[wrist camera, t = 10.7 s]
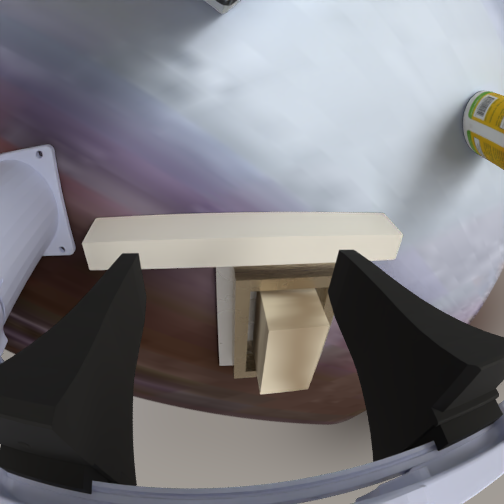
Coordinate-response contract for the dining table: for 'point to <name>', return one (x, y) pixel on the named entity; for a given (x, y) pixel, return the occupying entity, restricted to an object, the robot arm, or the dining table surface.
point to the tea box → (222, 5)
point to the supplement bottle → (485, 126)
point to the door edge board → (239, 238)
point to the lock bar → (287, 338)
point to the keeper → (244, 303)
